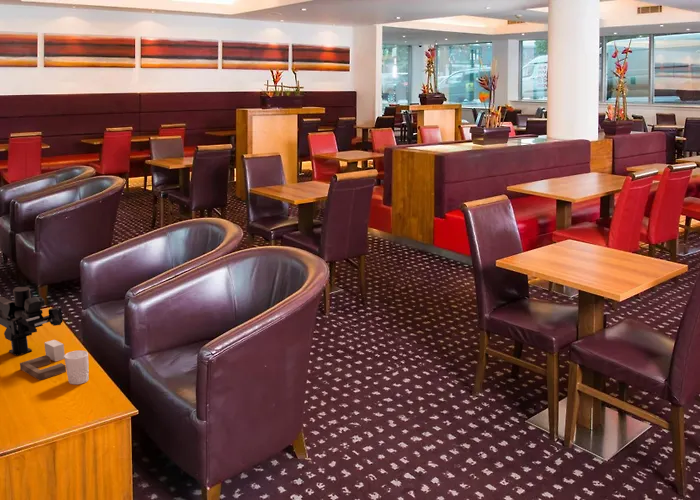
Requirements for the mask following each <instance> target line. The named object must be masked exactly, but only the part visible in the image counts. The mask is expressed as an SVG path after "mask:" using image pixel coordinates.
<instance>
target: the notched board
mask: <svg viewBox="0 0 700 500" xmlns="http://www.w3.org/2000/svg"><path fill="white" fill-rule="evenodd" d="M50 364H51V359H50V357H48V356H46V354H45V355H42V356H38V357H35V358H33V359H29V360H26V361H22V362H20V363H19V368H20V370H21V371H22V372H24V373H26V374H28V375H29V376H32V377H33V378H35V379H37V380H38V381H42V380H45V379H48V378H51V377H54V376H58V375H60V374H64V373H65V372H66V373H67V370H66V364H65V363H57V364H55V365H51V366H49V367H48V366H47V367H45V368H42V369H39V368H41V367H43V366H46V365H50Z"/></svg>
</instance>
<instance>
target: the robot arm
mask: <svg viewBox="0 0 700 500" xmlns="http://www.w3.org/2000/svg"><path fill="white" fill-rule="evenodd" d="M12 292H13V300H11V299H7V298H6V297H3V296H1V295H0V326H2V327H4V328H5V330H4V333H3V334H4V338H5V339H6V340H8V341H10V342H11V349H9V350H8V353H10V354H12V355H14V356H17V357H18V356H19V355H23V354H26V353H30V352H32V351H33V349H31V348H29V344H28V337H29V336H32V335H33V333H37V332H38V329H37V328H39V327H42V326H44V325H43V324H47V323H50V324H51V326H54V327H55V326H61V325H62V324H63V319H64V318H63V310H62V308H61V307H59V306H56V307H51V308H49V309H48V311H47V312H48V315H44V316H43V314H44V313H43V310H42V309H41V308H42V307H44V306H45V302H46V300H45V299H44V298H43V297H41V296H33V297H31V289H30V287H29V286H16V287H14V288H13V290H12Z"/></svg>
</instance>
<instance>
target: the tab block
mask: <svg viewBox="0 0 700 500" xmlns="http://www.w3.org/2000/svg"><path fill="white" fill-rule="evenodd" d="M64 345H65V344H64V343H62V342H60V341H59V340H56V339H52V340H47V341H45V342H44V351H45V355H46V356H48V357H50V361H52V362H54V363H55V362H58V361H62V360H65V358H64V355H65V354H66V353H65V346H64Z"/></svg>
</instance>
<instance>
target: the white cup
mask: <svg viewBox="0 0 700 500" xmlns="http://www.w3.org/2000/svg"><path fill="white" fill-rule="evenodd" d="M64 358H65V359H64V365H65V367H66V374H67V375H66V376H67V380H68V383H69V384H70V385H81V384H85V383H87V382H88V381H89V379H90V378H89V377H90V376H89V375H90V374H89V372H90V371H89V353H88V351H86V350H73V351H69V352H66V353H65V355H64Z"/></svg>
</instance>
